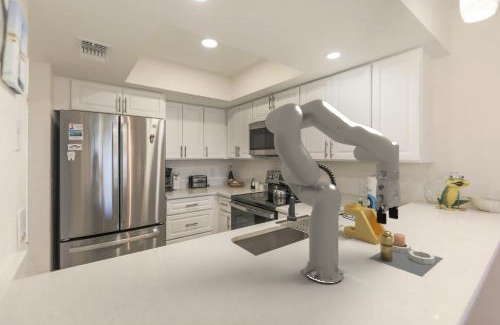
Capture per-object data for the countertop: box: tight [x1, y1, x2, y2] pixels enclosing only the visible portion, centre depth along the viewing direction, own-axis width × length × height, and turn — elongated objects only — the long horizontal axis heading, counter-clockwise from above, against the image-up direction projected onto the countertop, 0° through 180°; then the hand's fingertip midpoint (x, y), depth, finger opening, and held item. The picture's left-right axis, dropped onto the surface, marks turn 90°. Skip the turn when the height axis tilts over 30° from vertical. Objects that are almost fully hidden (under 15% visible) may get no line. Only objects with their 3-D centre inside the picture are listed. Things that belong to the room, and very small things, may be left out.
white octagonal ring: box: [409, 249, 436, 265], centre depth 86 cm, size 7×7×2 cm
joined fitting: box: [393, 233, 412, 253], centre depth 96 cm, size 7×7×6 cm
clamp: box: [343, 202, 387, 246], centre depth 112 cm, size 20×9×16 cm, turn 26°
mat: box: [369, 248, 444, 277], centre depth 88 cm, size 22×17×1 cm
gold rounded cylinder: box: [379, 230, 394, 262], centre depth 87 cm, size 4×4×10 cm
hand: (387, 220), depth 87 cm, fingers open, 9 cm apart
